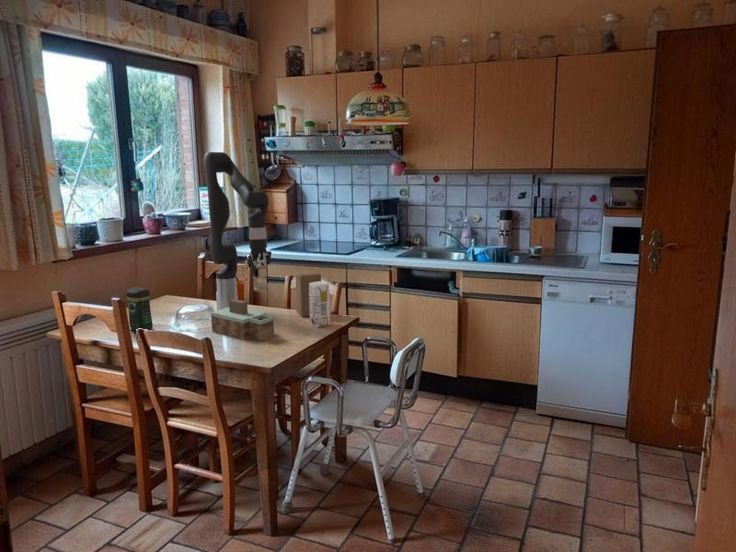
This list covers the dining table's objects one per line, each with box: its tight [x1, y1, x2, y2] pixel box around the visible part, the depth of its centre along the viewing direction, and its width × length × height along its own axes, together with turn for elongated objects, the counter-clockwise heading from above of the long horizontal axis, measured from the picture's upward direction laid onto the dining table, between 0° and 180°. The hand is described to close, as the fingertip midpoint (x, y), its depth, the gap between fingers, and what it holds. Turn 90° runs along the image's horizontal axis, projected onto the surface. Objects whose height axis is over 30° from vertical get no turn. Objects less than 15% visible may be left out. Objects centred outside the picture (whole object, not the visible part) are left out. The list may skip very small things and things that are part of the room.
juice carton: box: [309, 280, 331, 329], centre depth 250 cm, size 8×9×19 cm
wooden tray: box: [210, 315, 275, 342], centre depth 240 cm, size 27×13×7 cm, turn 54°
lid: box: [210, 299, 274, 324], centre depth 239 cm, size 27×13×8 cm, turn 54°
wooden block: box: [295, 270, 322, 318], centre depth 268 cm, size 10×10×20 cm
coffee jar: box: [126, 286, 154, 332], centre depth 245 cm, size 10×8×19 cm
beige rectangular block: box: [252, 264, 268, 293], centre depth 252 cm, size 4×4×11 cm
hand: (259, 275), depth 252 cm, fingers closed on beige rectangular block, 4 cm apart
